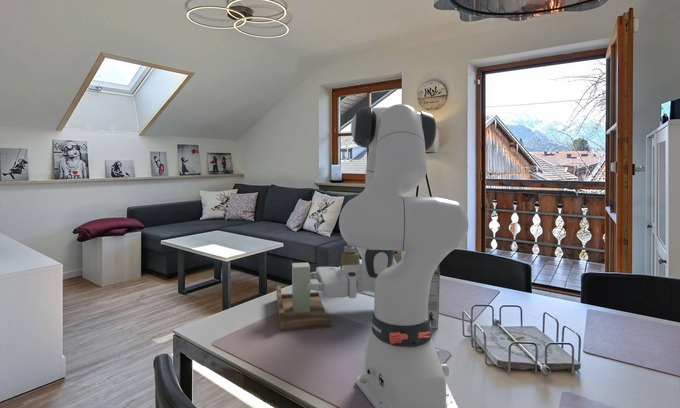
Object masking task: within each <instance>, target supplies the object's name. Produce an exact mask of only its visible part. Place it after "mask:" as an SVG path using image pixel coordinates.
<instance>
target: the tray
mask: <svg viewBox="0 0 680 408" xmlns="http://www.w3.org/2000/svg"><path fill="white" fill-rule="evenodd" d="M276 304H277V305H276V307H277V317H278V325H279V326H278V327H279V331H280V332H283V331H294V330H295V331H297V330H308V329H320V328H321V329H322V328H323V329H324V328H331V319H329V318H328V315H327V313H326V310H325V308H324V305H323V303H322V300H321V298H320V291H314V292H313V291H312V292H311V291H310V312H304V313H294V312H293V307H292V293H282V288H281V284H276Z"/></svg>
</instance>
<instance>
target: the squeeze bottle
mask: <svg viewBox="0 0 680 408" xmlns="http://www.w3.org/2000/svg"><path fill="white" fill-rule="evenodd" d="M346 244H347V245H346V246H344V247H343V248H344V249H343V252H342V253H341V257H340V259H341V260H340V267H339V269H340V270H341V269H342V266H343V265H359V264H361V262H360V255H359V253H358V252H357V250H356V249H355V248H354V246H351V245H349V244H348V243H346Z"/></svg>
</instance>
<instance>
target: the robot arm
mask: <svg viewBox="0 0 680 408" xmlns="http://www.w3.org/2000/svg"><path fill="white" fill-rule="evenodd" d="M436 122H437V121H436V119H435V117H434V116H433V114H431V113H429V112H425V111H422V110H420V111H417V110H416V109H415V108H413V107H412V106H411V105H409V104H408V105H407V104H402V103H398V104H394V105H390V106H388V107H372V106H364V107H361V108H359V109H358V110H357V111H355V114H354V116H353V118H352V120H351V123H350V124H351V125H350V132H351V133H350V134H351V136H352V138H353V142H354V143H355V144H356V146H358V147H360V148H365V149H368V148H369V150H368V154H367V159H366V167H365V180H364V181H365V182H364V184H365V185H364V187H365V188H364V190H363V191H361V192H360V193H358V194H357V195H356V196H355V197H353V198H351V199H349V200H348V201H347V202H346V203H345V205H343V208H342V209H341V211H340V215H339V220H338V227H339V231H340V234H341V237H342V238H343V240H344V241H345V243H346V244H349V245H351V246H354V248H355V249H356V250H357V253H359V257H360V259H361V262H360V264H359V265H343V266H342V269H341V270H340V267H337V266H317V267H315V271H312V272H310V280H317V282H318V283H317V282H310V283H307V284H306V288H307V290H310V291H314V292H322V294H323V295H324V297H327V298H347V297H348V298H349V299H355V298H357V294H362V293H365V292H370V293H374V300H373V302H374V306H373V307H374V309H373V310H374V311H373V312H372V315H371V331H372V333H371V336H369V339H367V341H366V343H364V353H363V355H364V356H363V371H362V373H361V374H359V375H357V377H356V379H355V383H356V385H357V387H358V388H359V389H360V390H361V392H362V393H363V395H365V397H366V398H367V399H368V401H369V402H370V403H371V405H373V407H374V408H459V406H458V405H457V402H456V400H455V398H454V395H453V394H452V392H451V389H450V387H449V385H448V383H447V381H446V377H449V375H450V369H449V366H448V364H447V363H441V361H440V359H439V358H440V356H441V354H440V349H436V347H435V345H434V342H433V336H432V328H431V323H430V318H429V316H428V300H429V291H430V284H431V280H432V277H433V274H434V272H435V270H436V268H437V267H438V265H439V266H440V263H441V262H442V261H443V260H444V259H445V258H446V257H447V256H448V255H449V254H451V252H453V251H454V250H456V249H457V248H459V247H460V246H461V244H462V243H463V242H464V241H465V239H466V237H467V235H468V230H469V218H468V215H467V213H466V210H465V209H464V207H463V206H462V205H461V203H459V201H456V200H452V199H447V198H442V197H437V196H403V195H404V194H406V193H408V192H411V191H413V190H414V189H416V188H417V187H418V186H419V185H421V183H422V182H423V181H424V180H425V179H426V175H427V156H426V155H427V154H426V152H427V151H428V150H430V149H431V148H432V147H433V146H434V142H435V141H436V137H437V131H438V130H437V124H436ZM394 251H402V252H405V255H404V257H402V259H401V260H400V261H398V262H396V259H395V256H394V255H395V254H394Z"/></svg>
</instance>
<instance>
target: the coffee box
mask: <svg viewBox="0 0 680 408" xmlns="http://www.w3.org/2000/svg"><path fill="white" fill-rule="evenodd" d="M440 270H441V269H440V264H439V265H438V267H437V268H436V270H435V272H434V274H433V277H432V280H431V284H430V291H429V300H428V316H429V318H430V323H431V329H439V314H440V313H439V312H440V310H439V309H440V287H441V286H440V281H441V272H440Z"/></svg>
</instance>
